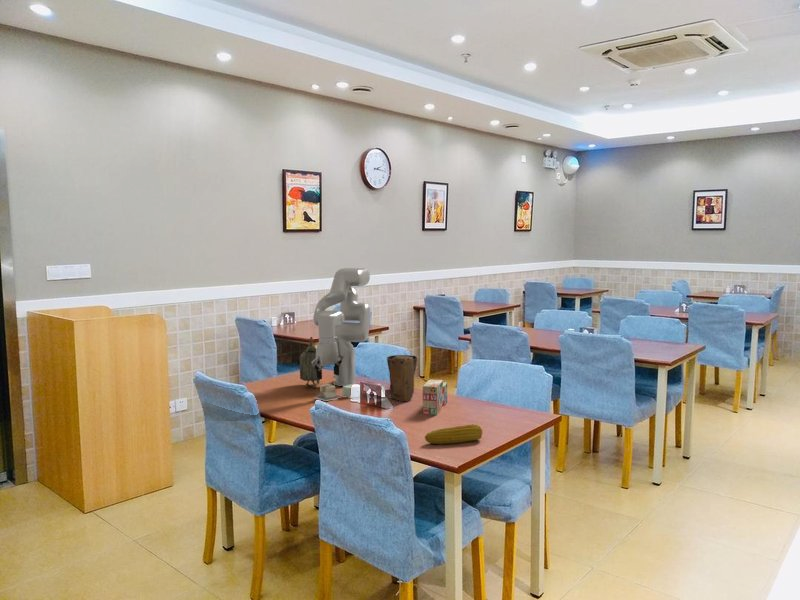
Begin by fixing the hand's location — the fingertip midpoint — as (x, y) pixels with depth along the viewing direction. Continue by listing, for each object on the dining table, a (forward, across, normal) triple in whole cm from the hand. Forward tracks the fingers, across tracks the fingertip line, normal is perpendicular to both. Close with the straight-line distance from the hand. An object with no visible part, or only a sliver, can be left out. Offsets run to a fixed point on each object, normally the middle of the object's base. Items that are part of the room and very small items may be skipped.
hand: (328, 376), depth 269 cm
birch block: (+9, +1, +1) cm, 9 cm away
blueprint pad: (+10, +1, +1) cm, 10 cm away
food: (+8, +5, +81) cm, 82 cm away
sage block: (+10, -9, +5) cm, 15 cm away
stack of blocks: (+10, -23, +46) cm, 52 cm away
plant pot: (+11, -36, +12) cm, 39 cm away
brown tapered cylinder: (+11, -23, +25) cm, 35 cm away
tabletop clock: (+11, -8, -25) cm, 29 cm away
